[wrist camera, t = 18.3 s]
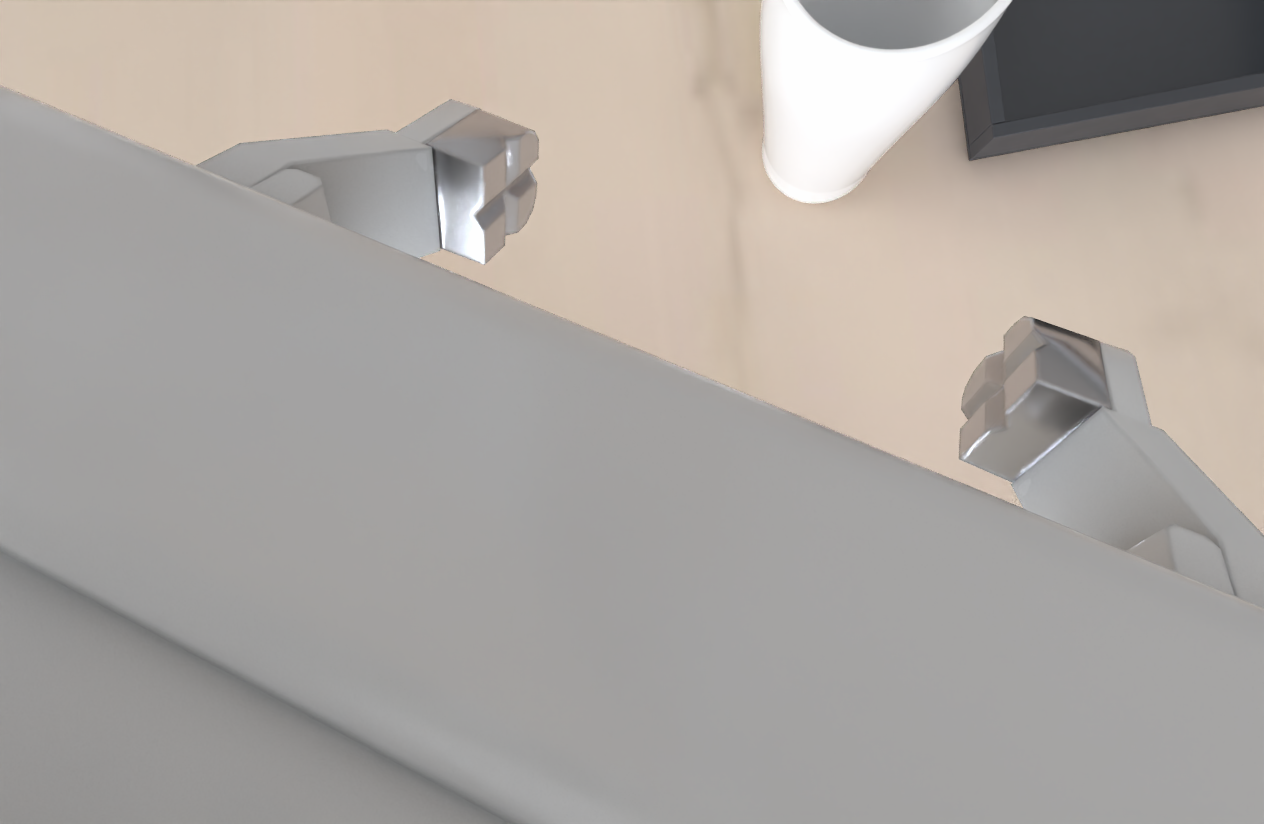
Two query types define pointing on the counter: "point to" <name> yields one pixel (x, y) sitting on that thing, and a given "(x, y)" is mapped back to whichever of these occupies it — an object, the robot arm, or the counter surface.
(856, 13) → the white tall cup
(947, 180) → the counter surface
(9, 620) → the robot arm
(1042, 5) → the baking tray
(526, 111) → the counter surface
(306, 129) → the counter surface
